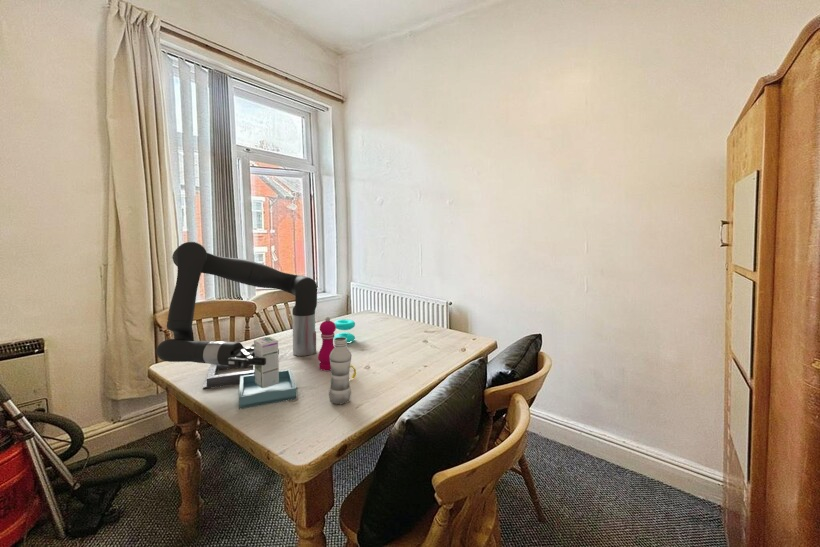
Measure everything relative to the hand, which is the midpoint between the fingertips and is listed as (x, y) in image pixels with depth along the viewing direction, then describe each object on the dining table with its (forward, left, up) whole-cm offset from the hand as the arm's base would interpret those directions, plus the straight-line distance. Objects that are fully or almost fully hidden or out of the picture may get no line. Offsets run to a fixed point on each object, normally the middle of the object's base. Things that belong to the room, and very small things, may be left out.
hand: (272, 356), depth 106 cm
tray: (+1, -1, -12) cm, 12 cm away
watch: (-25, 0, -12) cm, 27 cm away
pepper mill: (-21, -14, -12) cm, 28 cm away
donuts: (-35, -43, -12) cm, 56 cm away
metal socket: (+11, -20, -12) cm, 26 cm away
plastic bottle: (-19, +14, -12) cm, 26 cm away
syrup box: (+2, -1, -9) cm, 9 cm away
